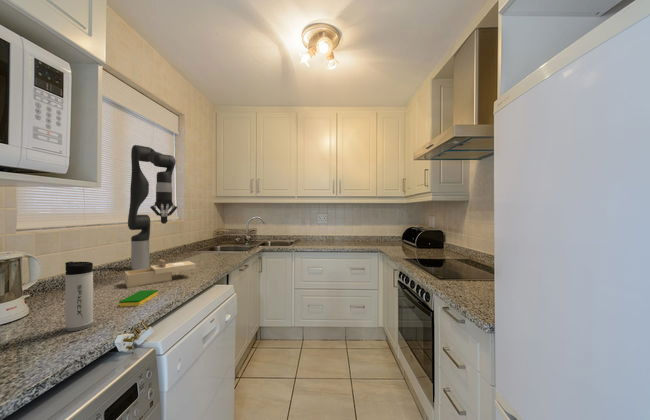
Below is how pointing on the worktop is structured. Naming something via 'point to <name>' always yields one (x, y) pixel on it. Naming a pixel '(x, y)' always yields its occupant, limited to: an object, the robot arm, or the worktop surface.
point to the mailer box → (145, 277)
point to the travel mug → (78, 295)
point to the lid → (172, 266)
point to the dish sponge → (138, 298)
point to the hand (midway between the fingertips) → (164, 223)
